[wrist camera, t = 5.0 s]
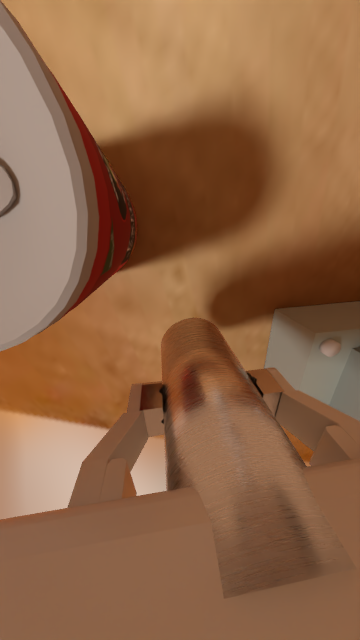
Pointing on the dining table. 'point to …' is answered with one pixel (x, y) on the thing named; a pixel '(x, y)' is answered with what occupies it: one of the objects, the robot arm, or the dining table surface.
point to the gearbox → (319, 352)
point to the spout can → (240, 467)
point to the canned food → (51, 197)
